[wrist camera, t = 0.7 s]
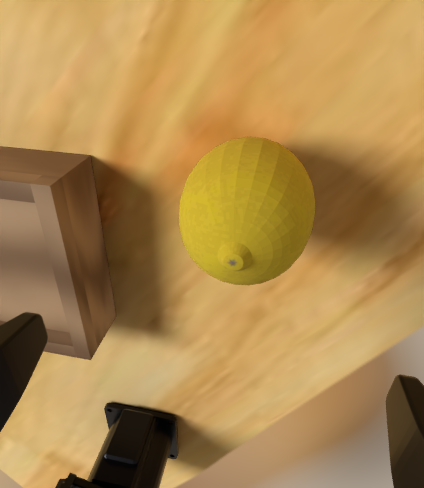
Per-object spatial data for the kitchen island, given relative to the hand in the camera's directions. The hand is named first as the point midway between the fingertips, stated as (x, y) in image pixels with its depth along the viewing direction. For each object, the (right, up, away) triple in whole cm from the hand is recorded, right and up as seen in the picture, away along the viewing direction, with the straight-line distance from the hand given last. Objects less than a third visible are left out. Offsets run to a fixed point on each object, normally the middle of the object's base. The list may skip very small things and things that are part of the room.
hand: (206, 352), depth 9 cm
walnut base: (-12, +3, +15) cm, 20 cm away
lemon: (+2, +7, +10) cm, 12 cm away
